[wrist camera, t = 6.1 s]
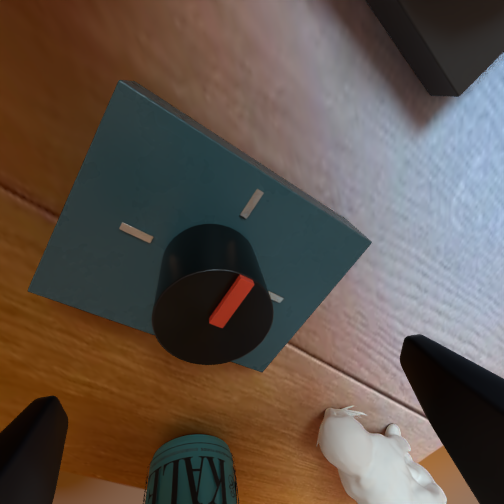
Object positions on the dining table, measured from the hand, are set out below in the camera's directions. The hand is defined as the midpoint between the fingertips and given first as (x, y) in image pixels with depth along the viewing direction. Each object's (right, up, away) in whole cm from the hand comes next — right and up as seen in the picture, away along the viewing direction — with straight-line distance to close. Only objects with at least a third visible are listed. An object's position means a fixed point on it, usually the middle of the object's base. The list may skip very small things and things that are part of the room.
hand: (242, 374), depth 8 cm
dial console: (-2, +4, +9) cm, 10 cm away
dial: (-2, +3, +7) cm, 7 cm away
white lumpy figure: (+9, -13, +21) cm, 26 cm away
